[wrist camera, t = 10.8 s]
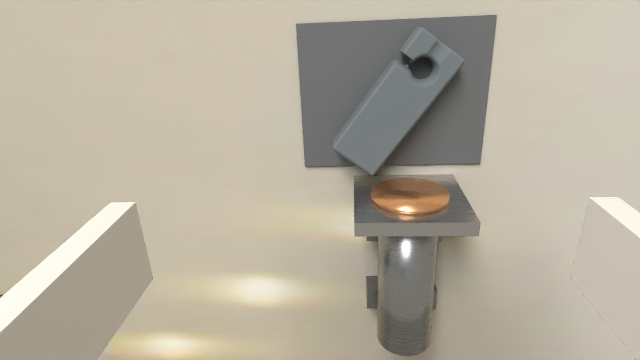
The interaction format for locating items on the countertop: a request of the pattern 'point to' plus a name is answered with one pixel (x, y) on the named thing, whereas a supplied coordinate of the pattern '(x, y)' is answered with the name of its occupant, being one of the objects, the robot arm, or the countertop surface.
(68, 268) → the robot arm
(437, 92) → the bracket
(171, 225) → the countertop surface
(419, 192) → the pipe fixture
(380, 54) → the mount pad
